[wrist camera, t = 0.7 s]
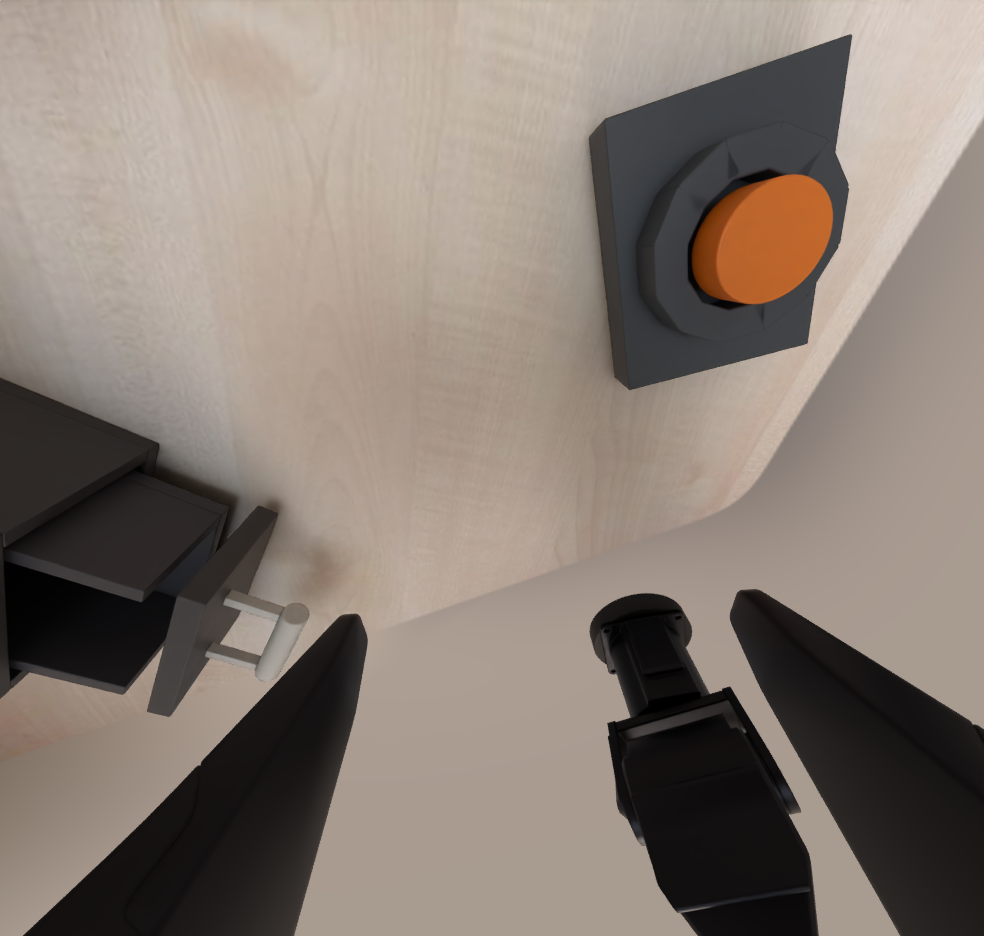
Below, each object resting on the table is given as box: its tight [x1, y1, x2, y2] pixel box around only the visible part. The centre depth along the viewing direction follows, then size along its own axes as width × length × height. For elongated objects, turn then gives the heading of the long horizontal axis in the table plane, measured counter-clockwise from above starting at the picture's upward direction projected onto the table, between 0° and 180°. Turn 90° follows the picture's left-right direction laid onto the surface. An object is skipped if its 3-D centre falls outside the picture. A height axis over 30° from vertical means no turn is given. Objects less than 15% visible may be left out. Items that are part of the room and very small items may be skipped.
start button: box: [692, 174, 833, 304], centre depth 13 cm, size 4×4×2 cm
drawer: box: [3, 470, 309, 717], centre depth 20 cm, size 17×10×7 cm, turn 59°
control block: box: [589, 34, 852, 390], centre depth 15 cm, size 10×8×4 cm
